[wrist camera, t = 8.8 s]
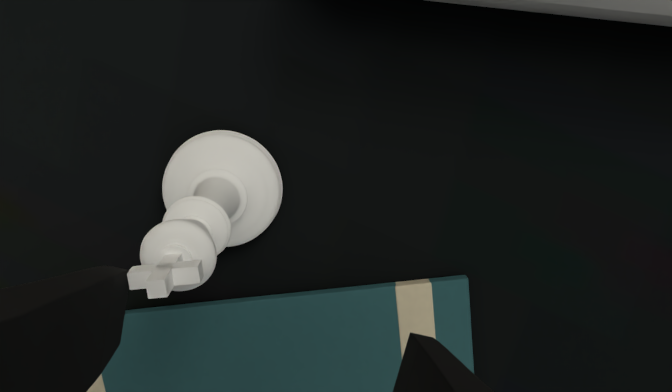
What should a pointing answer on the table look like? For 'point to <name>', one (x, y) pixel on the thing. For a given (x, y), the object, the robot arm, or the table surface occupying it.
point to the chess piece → (207, 210)
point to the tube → (588, 8)
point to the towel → (289, 339)
